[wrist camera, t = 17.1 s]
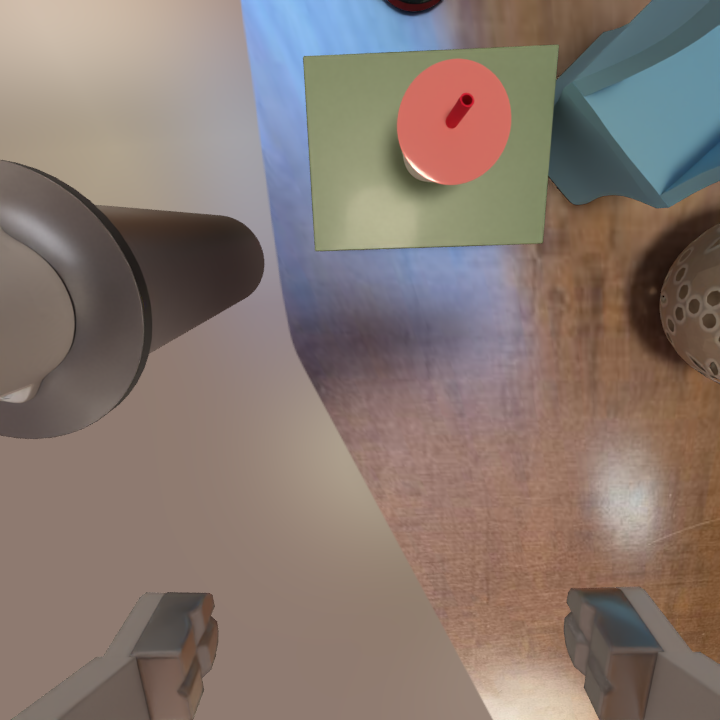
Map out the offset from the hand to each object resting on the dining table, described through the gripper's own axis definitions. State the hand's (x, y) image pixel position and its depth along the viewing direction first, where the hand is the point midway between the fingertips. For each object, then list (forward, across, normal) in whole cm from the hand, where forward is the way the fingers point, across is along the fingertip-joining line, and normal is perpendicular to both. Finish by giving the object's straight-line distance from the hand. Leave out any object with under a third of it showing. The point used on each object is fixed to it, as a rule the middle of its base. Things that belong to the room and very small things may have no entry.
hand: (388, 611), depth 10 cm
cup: (+24, -4, -13) cm, 28 cm away
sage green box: (+34, -4, -13) cm, 37 cm away
